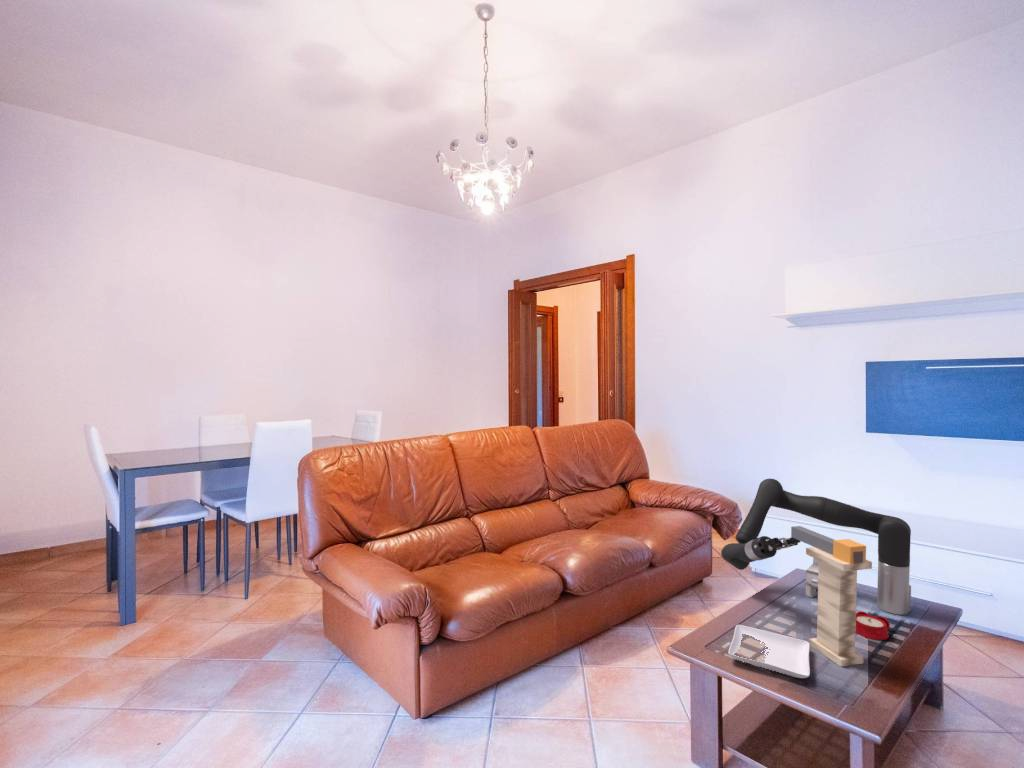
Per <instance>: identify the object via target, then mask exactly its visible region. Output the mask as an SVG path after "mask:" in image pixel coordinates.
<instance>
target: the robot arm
mask: <svg viewBox="0 0 1024 768" xmlns="http://www.w3.org/2000/svg"><path fill="white" fill-rule="evenodd" d="M756 491H757V492H756V494H755V498H754V500H753V503H752V506H751V507H750V509H749V511H748V513H747V514H746V517H745V519H744V520H743V522H742V524H741V526H740V528H738V529H739V530H738V531H737V532H736V535H735V540H736V543H734V542H731V543H728V544H726V545H724V546H723V547H722V549H721V552H720V555H721V557H722V558H723V560H724V561H726V562H727V563H729V564H730V565H731V566H733V567H734V568H736V569H737V570H738V571H739V570H740V571H741V570H742V571H743V570H744V569H747V567H748V566H749V565H750V563H754V562H756V561H762V560H767V559H770V558H773V557H774V556H776V554H777V553H778V551H781V550H782V549H787V548H788V549H789V548H791V547H794V546H798V545H799V543H802V541H799V540H797V539H795V538H793V537H791V536H790V537H789V538H787V537H781V538H779V537H773V538H771V537H769V536H766V535H763V536H759V535H760V533H761V530H762V528H763V525H764V522H765V519H766V517H767V516H768V515H767V514H768V513H769V510H770V509H771V507H774V508H777V509H778V508H779V509H783V510H788V511H791V512H795V513H797V514H801V515H804V516H805V517H809V518H812V519H814V520H819V521H821V522H824V523H827V524H831V525H833V526H838V527H845V528H852V529H853V528H855V529H859V530H860V529H861V530H865V531H869V532H870V533H874V534H875V535H877V537H878V538H877V557H878V558H877V586H876V587H877V590H876V593H877V594H876V595H877V596H876V606H877V608H878V609H880V610H881V611H884V612H887V613H889V614H894V615H901V616H902V615H907V614H908V613H909V612H911V604H912V603H911V601H912V598H911V597H912V585H911V584H910V568H911V567H910V566H911V565H910V564H911V536H912V530H911V527H910V525H909V524H908V523H907V521H905V520H904V519H902V518H900V517H898V516H897V517H896V516H892V515H887V514H881V513H877V512H872V511H869V510H865V509H862V508H859V507H856V506H854V505H851V504H847V503H844V502H841V501H838V500H835V499H832V498H828V497H825V496H819V495H817V496H816V495H800V494H795V493H792V492H789V491H786V490H785V489H784V488H783V486H782V483H781V482H780V481H778V479H775V478H766V479H763V480H762V481H760V483H759V485H758V489H757V490H756Z"/></svg>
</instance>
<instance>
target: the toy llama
mask: <svg viewBox="0 0 1024 768" xmlns="http://www.w3.org/2000/svg"><path fill="white" fill-rule="evenodd" d="M812 558H813V557H812ZM818 573H819V560H818V559H815V558H813V559H812V563H811V565H809V567H808V568H807V569H806V571H805V595H806V596H805V597H808V596H810V597H809V598H811V597H813V596H814V595H815V594H816V593H815V592H817V591H818ZM815 590H816V591H815ZM814 597H815V596H814ZM814 597H813V598H814Z"/></svg>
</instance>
